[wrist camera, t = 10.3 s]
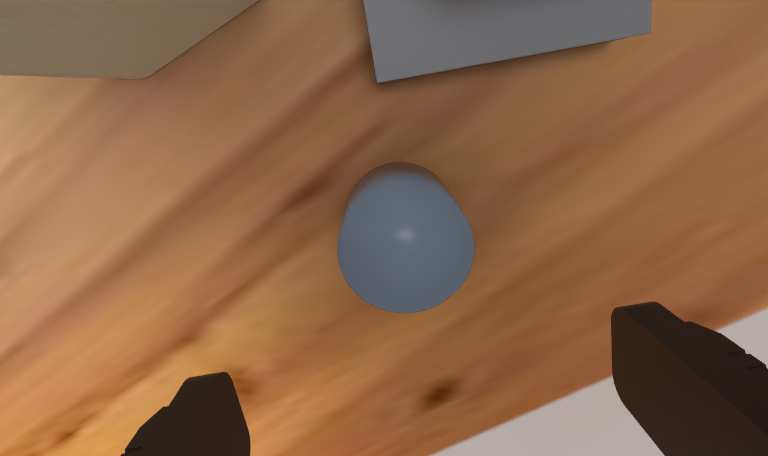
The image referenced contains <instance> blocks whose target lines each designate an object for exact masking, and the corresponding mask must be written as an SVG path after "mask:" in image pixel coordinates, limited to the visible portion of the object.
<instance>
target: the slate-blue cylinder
mask: <svg viewBox="0 0 768 456" xmlns="http://www.w3.org/2000/svg"><path fill="white" fill-rule="evenodd" d="M473 256H474V239H473V234H472V230H471V227H470V224H469V222H468V220H467V218H466V216H465V215H464V214H463V212H462V211H461V209H460V208H459V206H458V205H457V203H456V202H455V201H454V199H453V198H452V196H451V195H450V193H449V192H448V191H447V189H446V188H445V186H444V185H443V183H442V182H441V181H440V180H439V179H438V178H437V177H436V176H435V175H434V174H433V173H432V172H430V171H428V170H427V169H425V168H423V167H421V166H418V165H415V164H411V163H402V162H397V163H389V164H385V165H382V166H380V167H377V168H375V169H373V170H372V171H370V172H369V173H367V174H366V175H365V176H364V177H363V178H362V179H360V181H359V182H358V183H357V184H356V186H355V187H354V189H353V191H352V193H351V195H350V197H349V201H348V204H347V208H346V212H345V216H344V220H343V224H342V228H341V232H340V235H339V241H338V260H339V265H340V268H341V271H342V274H343V276H344V278H345V280H346V281H347V283H348V285H349V286H350V287H351V288H352V290H353V291H354V292H355V293H356V294H357V295H358V296H359V297H360V298H362V299H363V300H364V301H366V302H367V303H369V304H371V305H373V306H375V307H377V308H380V309H382V310H386V311H390V312H396V313H413V312H419V311H424V310H427V309H430V308H432V307H435V306H437V305H439V304H441V303H442V302H444V301H445V300H447V299H448V298H449V297H450V296H452V295H453V294H454V293H455V292H456V291H457V290H458V289H459V288H460V286H461V285H462V283H463V282H464V281H465V279H466V277H467V275H468V273H469V271H470V268H471V265H472V261H473Z"/></svg>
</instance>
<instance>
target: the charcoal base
mask: <svg viewBox="0 0 768 456" xmlns="http://www.w3.org/2000/svg"><path fill="white" fill-rule="evenodd" d="M363 3H364V9H365V15H366V21H367V27H368V33H369V39H370V44H371V50H372V56H373V62H374V68H375V74H376V80H377V84H379V83H384V82H390V81H395V80H401V79H406V78H412V77H417V76H423V75H428V74H433V73H439V72H444V71H450V70H455V69H461V68H466V67H472V66H477V65H483V64H488V63H494V62H499V61H505V60H510V59H515V58H521V57H526V56H532V55H537V54H543V53H548V52H554V51H559V50H565V49H570V48H576V47H581V46H587V45H592V44H598V43H603V42H608V41H613V40H618V39H623V38H628V37H633V36H638V35H642V34H647V33H651V0H363Z"/></svg>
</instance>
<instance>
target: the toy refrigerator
mask: <svg viewBox="0 0 768 456" xmlns="http://www.w3.org/2000/svg"><path fill="white" fill-rule="evenodd" d="M257 1H259V0H0V75H25V76H48V77H83V78H116V79H143V78H147V77H149V76H150V75H152V74H154V73H155V72H156V71H158V70H159V69H161V68H162V67H164V66H165V65H167V64H168V63H169V62H171V61H172V60H174V59H175V58H177V57H178V56H180V55H181V54H183V53H184V52H185V51H187V50H188V49H189V48H191V47H192V46H194V45H196V44H197V43H199V42H200V41H201V40H203V39H204V38H205V37H207V36H208V35H210V34H211V33H213V32H214V31H216V30H217V29H219V28H220V27H221V26H223V25H224V24H226V23H227V22H228V21H230V20H231V19H233V18H234V17H236V16H237V15H238V14H240V13H241V12H243V11H244V10H246V9H247V8H249V7H250V6H251V5H253V4H254V3H256V2H257Z"/></svg>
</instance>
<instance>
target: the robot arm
mask: <svg viewBox="0 0 768 456" xmlns="http://www.w3.org/2000/svg"><path fill="white" fill-rule="evenodd" d="M611 336H612V373H613V380H614V384H615V387H616V390H617V392H618V395H619V397H620V399H621V401H622V402H623V404H624V405H625V407H626V408H627V409H628V410H629V411H630V412H631V414H632V415H633V416H634V418H635V419H636V420H637V422H638V423H639V424H640V425H641V427H642V428H643V429H644V430H645V431H646V433H647V434H648V435H649V436H650V438H651V439H652V440H653V441H654V443H655V444H656V445H657V446H658V448H659V449H660V450H661V451H662V453H663V454H664V455H665V456H768V369H767V368H766V365H765V364H764V363H762V362H761V361H760V360H758V359H757V358H755V357H754V356H752V355H751V354H746V353H745V350H744V349H742V348H741V347H739V346H738V345H737V344H735V343H734V342H732V341H731V340H729V339H728V338H727V337H725V336H724V335H722V334H721V333H718V332H716V331H713V330H711V329H708V328H706V327H703V326H701V325H698V324H696V323H693V322H683V321H682V320H681V319H679V318H678V317H677V316H675V315H674V314H673V313H671V312H670V311H669V310H667V309H666V308H665V307H663V306H662V305H661V304H659V303H657V302H647V303H641V304H635V305H629V306H623V307H617V308H615V309H614V310H613V312H612V315H611ZM121 456H250V436H249V431H248V428H247V425H246V421H245V418H244V415H243V412H242V409H241V406H240V403H239V400H238V397H237V394H236V391H235V388H234V384H233V381H232V379H231V377H230V375H229V374H228V373H226V372H220V373H214V374H208V375H202V376H196V377H190V378H188V379H186V380H185V382H184V383H183V385H182V386H181V388H180V389H179V391H178V392H177V394H176V395H175V397H174V398H173V400H172V402H171V403H170V405H169V406H166V407H163V408H161V409H160V410H159V411H158V412H157V413H156V414H155V415H154V416H152V417H151V418H150V419H149V420H148V421H147V422H146V423H144V424H143V425H142V426H141V427H140V428H139V430H138V431H137V433H136V434H135V436H134V437H133V438H132V440H131V441H130V443H129V444H128V446H127V447H126V449H125V454H121Z"/></svg>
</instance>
